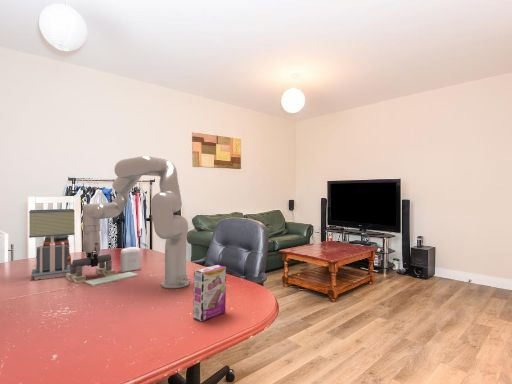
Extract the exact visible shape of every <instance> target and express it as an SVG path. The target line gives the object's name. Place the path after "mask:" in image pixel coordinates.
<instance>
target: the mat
mask: <svg viewBox="0 0 512 384" xmlns="http://www.w3.org/2000/svg"><path fill="white" fill-rule="evenodd" d="M137 276H139V274H138V273H135V272H132V271H126V272H121V273H118V274H115V275H112V276H107V277H106V276H103V277H99V278H94V279H89V280H86V281H85V282H84V283H85V284H88V285H90V286H92V287H95V286H99V285H103V284H107V283H111V282H112V283H113V282H116V281H120V280H121V281H122V280H125V279H129V278H134V277H137Z"/></svg>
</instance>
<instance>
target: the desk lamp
mask: <svg viewBox="0 0 512 384" xmlns="http://www.w3.org/2000/svg"><path fill="white" fill-rule="evenodd" d="M28 214H29V216H28V217H29V221H28V222H29V224H28V226H29V229H28V230H29V233H28V234H29V235H28V237H29V239H31V238H34V239H35V238H45V237H49V236H51V243H50V246H44V247H43V243H39V246H37V247H36V268H33V269H31V276H30V278H33V277H34V281H38V280H37V279H41V280H47V279H46V278H49V279H54V278H55V277H57V278H63V277H66V273H70V264H69V265H67V245H64V242H62V245H56V246H55V243H54V236H65V235H68V236H75V209H73V208H65V209H64V208H57V209H30V210H29V212H28Z"/></svg>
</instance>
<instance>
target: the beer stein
mask: <svg viewBox="0 0 512 384" xmlns="http://www.w3.org/2000/svg"><path fill="white" fill-rule="evenodd" d="M69 238H70V235H65V236H54V243H55V246H56V245H62V242H64V245H67V266H68V265H70V264H72V257H71V256H72V255H71V253H70V246H71V245H70V240H69ZM50 243H51V236H49V237H44V241H43V243H42V244H43V247H44V246H50Z"/></svg>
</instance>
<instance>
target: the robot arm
mask: <svg viewBox="0 0 512 384" xmlns="http://www.w3.org/2000/svg"><path fill="white" fill-rule="evenodd" d="M113 171H114V174H115V176H116V178H115V180H114V181H113V183H112V184H111V185H112V189H113V190H114V191H115V192H116V193H117V194H116V196H115V197H114V199H113V200H112V201H111V202H104V203H102V202H101V203H85V204H83V205H82V233H83V234H82V246H81V247H82V249H81V250H82V251H83V252H84V253H85V256H86V257H85V258H89V257H91V258H92V259H91V265H86V266H87V267H91V268H94V267H95V268H96V267H98V256H100V252H101V246H102V245H101V235H100V232H101V220H104V219H113V218H116V217H118V216H119V215H121V213H122V212H123V211H124V209H125V208H126V207H127V205H128V202H129V196H130V195H129V193H130V192H131V191H132V190H133V189H134V187H135V186H136V184H137V183H138V182H139V181H140V179H141V178H142V176H149V177H151V176H152V177H159V181H158V183H159V186H158V187H159V189H160V190H159V191H160V192H157V193H156V194H154V195H153V196H152V198H151V200H150V201H151V202H150V211H151V212H150V213H151V217H152V222H153V228H154V232H155V234H156V236H157V237H158V238H160V239H163V240H165V243H164V280H162V281H161V282H160V286H161V287H162V288H165V289H180V288H186V287H187V286H189V285H190V282H191V279H189V278H188V274H187V241H188V240H187V239H188V233H189V232H188V231H189V222H188V220H187V219H186V217H184V216H182V215H178V214H177V215H175V214H174V213H176V212H179V211H180V210H181V208H182V205H183V204H182V196H181V191H180V185H179V184H180V183H179V181H178V180H179V178H178V170H177V168H176V166H175V164H174V163H173V162H171V161H170V160H167V159H165V158H161V157H154V156H148V155H143V156H136V157H135V156H134V157H128V158H126V159H125V158H123V159H121V160H119V161H118V162H116V164H115V165H114V170H113Z"/></svg>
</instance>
